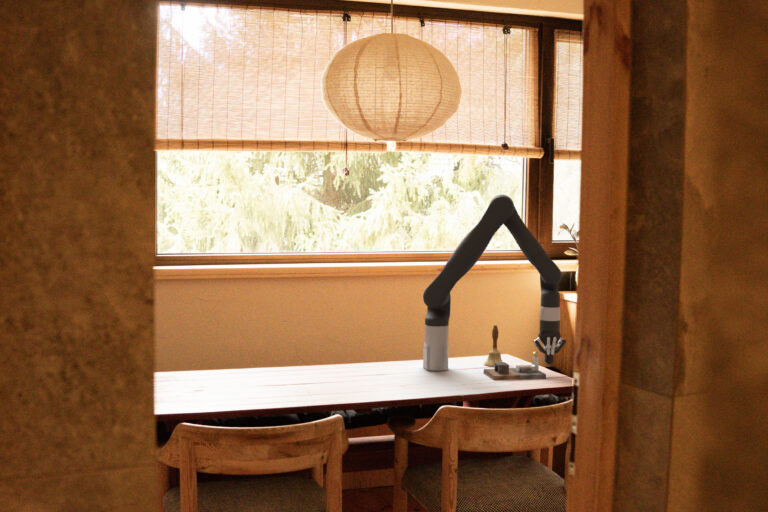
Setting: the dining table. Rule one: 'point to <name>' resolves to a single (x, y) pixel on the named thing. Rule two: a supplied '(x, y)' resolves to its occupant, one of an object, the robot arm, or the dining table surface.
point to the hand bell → (494, 350)
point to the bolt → (534, 365)
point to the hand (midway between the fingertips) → (548, 364)
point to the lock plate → (512, 373)
